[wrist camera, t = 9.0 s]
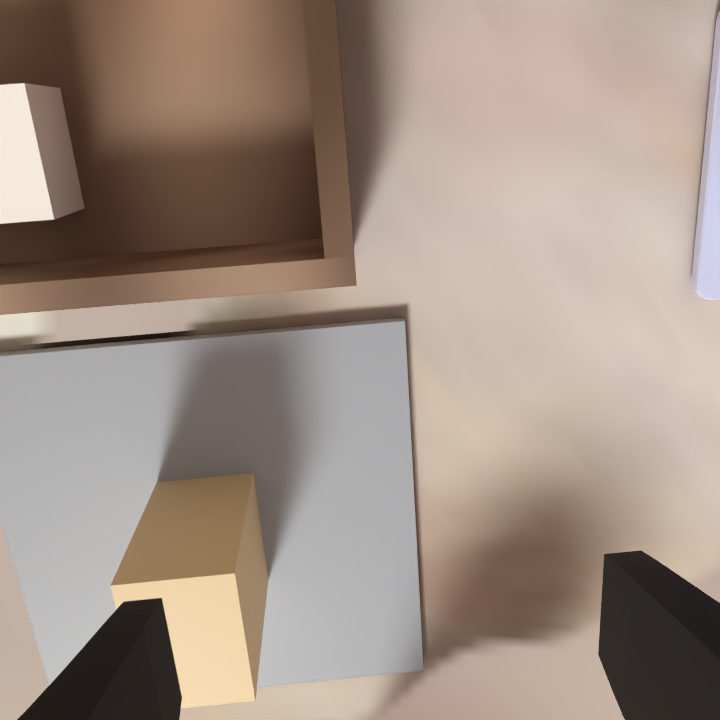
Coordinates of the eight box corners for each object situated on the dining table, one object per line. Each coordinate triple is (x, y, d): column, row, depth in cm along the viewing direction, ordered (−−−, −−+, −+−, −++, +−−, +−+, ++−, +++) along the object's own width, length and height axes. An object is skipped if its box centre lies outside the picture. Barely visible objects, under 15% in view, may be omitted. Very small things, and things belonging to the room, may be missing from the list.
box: (310, -264, 15) (308, -369, 12) (350, 258, 19) (356, 285, 16) (-227, -233, 15) (-380, -332, 12) (-74, 291, 19) (-157, 327, 16)
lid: (400, 312, 21) (432, 382, 15) (419, 650, 25) (449, 803, 19) (-29, 349, 20) (-163, 436, 15) (65, 686, 25) (-10, 853, 19)
